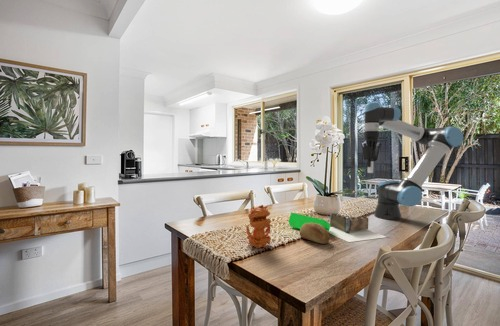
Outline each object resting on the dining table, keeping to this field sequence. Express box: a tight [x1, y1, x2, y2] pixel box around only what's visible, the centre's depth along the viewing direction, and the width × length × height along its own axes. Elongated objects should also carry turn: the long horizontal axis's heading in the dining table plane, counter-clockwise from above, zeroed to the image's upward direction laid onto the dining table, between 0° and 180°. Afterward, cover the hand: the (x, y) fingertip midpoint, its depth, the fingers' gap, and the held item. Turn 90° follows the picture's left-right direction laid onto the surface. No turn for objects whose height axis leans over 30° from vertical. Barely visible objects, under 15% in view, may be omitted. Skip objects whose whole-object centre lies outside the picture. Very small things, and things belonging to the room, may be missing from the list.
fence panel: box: [350, 215, 369, 232], centre depth 131 cm, size 12×1×7 cm, turn 114°
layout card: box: [327, 226, 387, 243], centre depth 129 cm, size 23×23×1 cm
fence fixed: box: [329, 212, 347, 231], centre depth 135 cm, size 2×12×8 cm, turn 20°
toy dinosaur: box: [245, 204, 272, 249], centre depth 108 cm, size 11×11×18 cm
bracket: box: [288, 212, 331, 231], centre depth 133 cm, size 20×10×7 cm, turn 44°
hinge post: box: [345, 216, 351, 233], centre depth 128 cm, size 2×2×8 cm
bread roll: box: [298, 223, 330, 245], centre depth 116 cm, size 10×15×8 cm, turn 39°
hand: (370, 172), depth 145 cm, fingers closed
